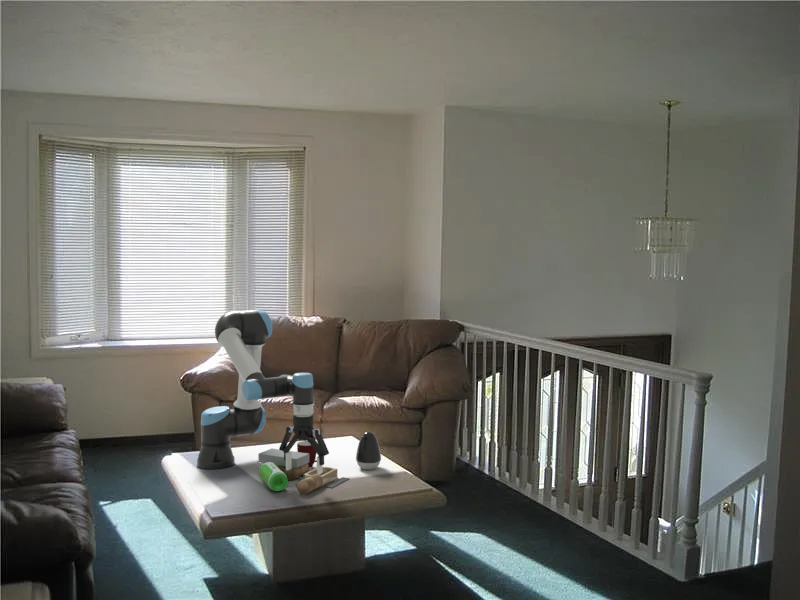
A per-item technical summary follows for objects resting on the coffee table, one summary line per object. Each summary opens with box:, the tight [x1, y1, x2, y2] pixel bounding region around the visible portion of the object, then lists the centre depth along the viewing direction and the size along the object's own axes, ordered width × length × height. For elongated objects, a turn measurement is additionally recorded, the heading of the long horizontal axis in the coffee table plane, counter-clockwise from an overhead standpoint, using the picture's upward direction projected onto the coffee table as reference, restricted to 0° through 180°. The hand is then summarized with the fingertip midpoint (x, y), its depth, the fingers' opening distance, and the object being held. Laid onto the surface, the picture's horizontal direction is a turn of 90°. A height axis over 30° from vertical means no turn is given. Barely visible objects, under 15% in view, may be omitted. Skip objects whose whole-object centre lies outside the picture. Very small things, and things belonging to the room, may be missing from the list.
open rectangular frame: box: [302, 465, 338, 487], centre depth 285 cm, size 8×13×4 cm, turn 154°
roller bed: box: [258, 463, 310, 481], centre depth 293 cm, size 17×10×5 cm, turn 64°
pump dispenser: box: [355, 431, 382, 471], centre depth 301 cm, size 10×10×15 cm
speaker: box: [258, 462, 289, 492], centre depth 279 cm, size 18×7×8 cm, turn 24°
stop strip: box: [324, 476, 350, 489], centre depth 282 cm, size 3×13×1 cm, turn 154°
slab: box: [257, 448, 309, 468], centre depth 292 cm, size 18×9×4 cm, turn 64°
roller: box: [296, 474, 323, 495], centre depth 273 cm, size 5×10×5 cm
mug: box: [296, 440, 317, 469], centre depth 303 cm, size 10×8×10 cm
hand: (304, 471), depth 274 cm, fingers open, 13 cm apart
